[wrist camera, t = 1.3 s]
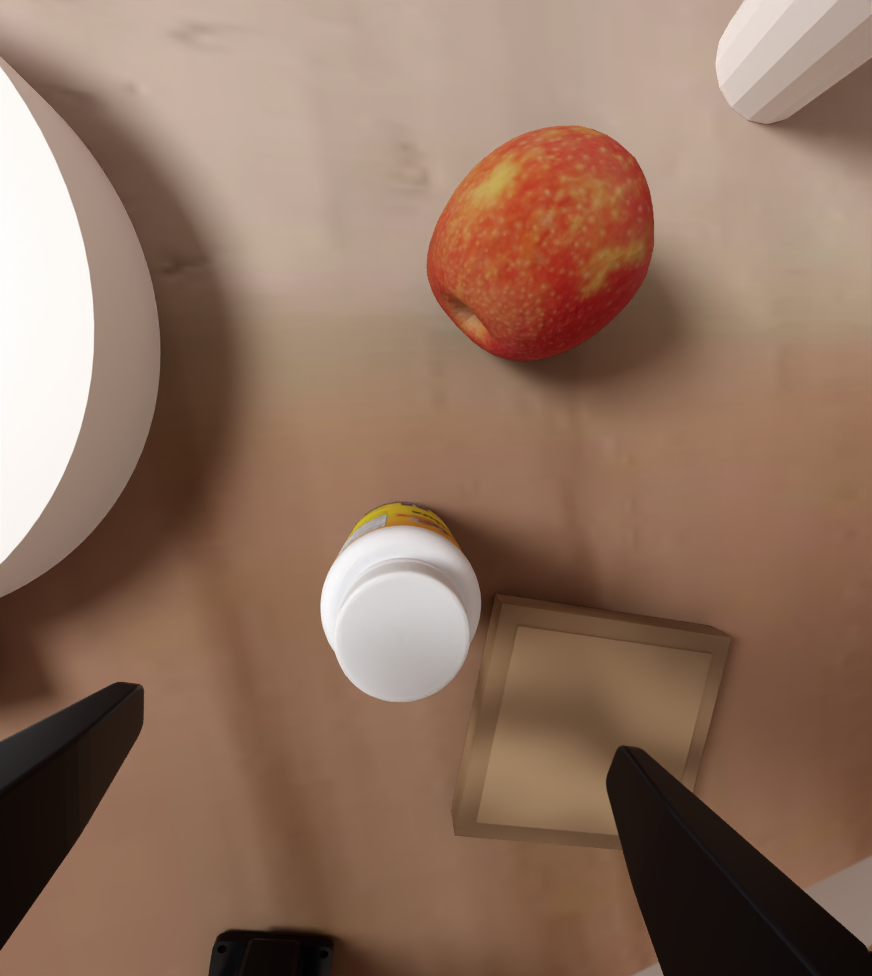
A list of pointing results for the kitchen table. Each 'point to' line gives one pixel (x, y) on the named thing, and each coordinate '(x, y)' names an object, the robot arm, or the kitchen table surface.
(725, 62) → the white cup
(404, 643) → the supplement bottle
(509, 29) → the kitchen table surface
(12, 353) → the white circle with bar
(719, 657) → the walnut base
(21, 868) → the robot arm
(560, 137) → the apple
